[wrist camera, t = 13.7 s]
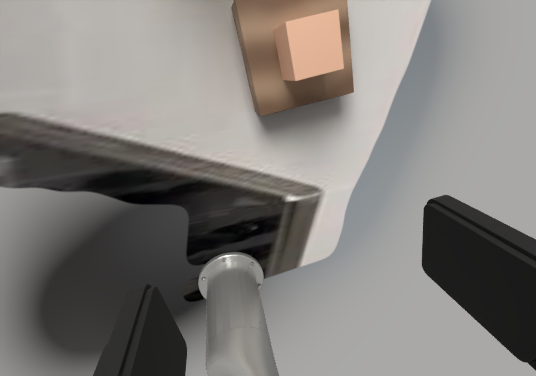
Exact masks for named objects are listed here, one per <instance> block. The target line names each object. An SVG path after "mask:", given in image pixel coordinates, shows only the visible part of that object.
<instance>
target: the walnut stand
mask: <svg viewBox="0 0 536 376" xmlns="http://www.w3.org/2000/svg"><path fill="white" fill-rule="evenodd" d="M337 9H338V11H339V21H340V32H341V42H342V52H343V63H344V69H340V70H336V71H333V72H329V73H325V74H321V75H317V76H313V77H309V78H306V79H302V80H298V81H288V80H283V78H282V73H281V67H280V62H279V57H278V51H277V46H276V41H275V36H274V29H276V28H277V27H279V26H280V25H282V24H283V23H284V22H287V21H291V20H295V19H299V18H304V17H308V16H312V15H316V14H320V13H325V12H329V11H333V10H337ZM232 11H233V15H234V20H235V24H236V29H237V33H238V37H239V42H240V46H241V51H242V55H243V60H244V64H245V68H246V73H247V77H248V82H249V86H250V90H251V95H252V99H253V104H254V108H255V112H256V113H258V114H259V115H260V116H263V115H267V114H271V113H275V112H279V111H283V110H286V109H290V108H294V107H298V106H302V105H306V104H310V103H314V102H318V101H322V100H326V99H330V98H334V97H338V96H342V95H346V94H350V93H353V92H354V88H353V74H352V61H351V47H350V34H349V20H348V7H347V0H234V2H233V5H232Z"/></svg>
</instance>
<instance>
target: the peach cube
mask: <svg viewBox="0 0 536 376" xmlns="http://www.w3.org/2000/svg"><path fill="white" fill-rule="evenodd" d="M274 36H275V41H276V46H277V51H278V57H279V62H280V67H281V73H282V78H283V80H288V81H298V80H302V79H306V78H309V77H313V76H317V75H321V74H325V73H329V72H333V71H336V70H340V69H344V63H343V52H342V42H341V32H340V21H339V11H338V9H337V10H333V11H329V12H325V13H320V14H316V15H312V16H308V17H304V18H299V19H295V20H291V21H287V22H284V23H283V24H282V25H280V26H279V27H277V28H276V29H274Z"/></svg>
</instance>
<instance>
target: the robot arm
mask: <svg viewBox="0 0 536 376" xmlns="http://www.w3.org/2000/svg"><path fill="white" fill-rule="evenodd" d="M422 267H423V270H424V271H425V273H426V274H427V275H428V276H429V277H430V278H431V279H432V280H433V281H434V282H436V283H437V284H438V285H439V286H440V287H441V288H442V289H443V290H444V291H445V292H446V293H447V294H448V295H449V296H451V297H452V298H453V299H454V300H455V301H456V302H457V303H458V304H459V305H460V306H461V307H462V308H464V309H465V310H466V311H467V312H468V313H469V314H470V315H471V316H472V317H473V318H474V319H475V320H477V322H479V323H480V324H481V325H482V326H483V327H484V328H485V329H486V330H487V331H488V332H489V333H490V334H492V335H493V336H494V337H495V338H496V339H497V340H498V341H499V342H500V343H501V344H502V345H503V346H504V347H506V348H507V349H508V350H509V351H510V352H511V353H512V354H513V355H514V356H516V357H517V358H518V359H519V360H521V361H523V362H527V363H529V365H531V366H532V367H533V368H534V369H535V370H536V239H534V238H532V237H529V236H528V235H525V234H524V233H522V232H520V231H518V230H516V229H514V228H512V227H510V226H508V225H506V224H504V223H502V222H500V221H498V220H496V219H494V218H492V217H490V216H488V215H486V214H484V213H483V212H481V211H479V210H477V209H474V208H473V207H470V206H469V205H467V204H465V203H462V202H461V201H459V200H457V199H455V198H453V197H451V196H449V195H443V196H440V197H436V198H433V199H430V200H429V201H428V202H427V205H425V207H424V217H423V245H422ZM263 279H264V276H263V271H262V267H261V265H260V264H259V262H258V261H257V260H256V259H255V258H253V257H252V256H250V255H247V254H245V253H240V252H229V253H224V254H221V255H218V256H216V257H214V258H213V259H211V260H210V261H209V262H207V263H206V264H205V266H204V267H203V268H202V271H201V272H200V275H199V290H200V292H201V294H202V295H203V297H204V298H205V299H206V300H207V310H206V317H207V318H206V370H207V374H208V376H279V374H278V370H277V367H276V363H275V360H274V356H273V351H272V346H271V342H270V338H269V333H268V329H267V324H266V320H265V315H264V311H263V307H262V302H261V297H260V293H259V290H260V288H261V287H262V284H263ZM186 358H187V347H186V342H185V340H184V338H183V336H182V334H181V332H180V330H179V328H178V326H177V324H176V322H175V321H174V319H173V317H172V315H171V313H170V311H169V309H168V307H167V305H166V303H165V301H164V299H163V297H162V295H161V293H160V291H159V290H158V288H157V287H153V288H152V287H151V285H149V284H147V285H144V286H141V287H137V288H133V289H130V290H129V291H128V293H127V295H126V298H125V301H124V303H123V306H122V308H121V311H120V314H119V316H118V319H117V322H116V324H115V327H114V330H113V332H112V335H111V337H110V340H109V342H108V344H107V345H106V346H105V348H104V350H103V352H102V354H101V357H100V360H99V362H98V365H97V367H96V370H95V372H94V375H93V376H185V371H186Z"/></svg>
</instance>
